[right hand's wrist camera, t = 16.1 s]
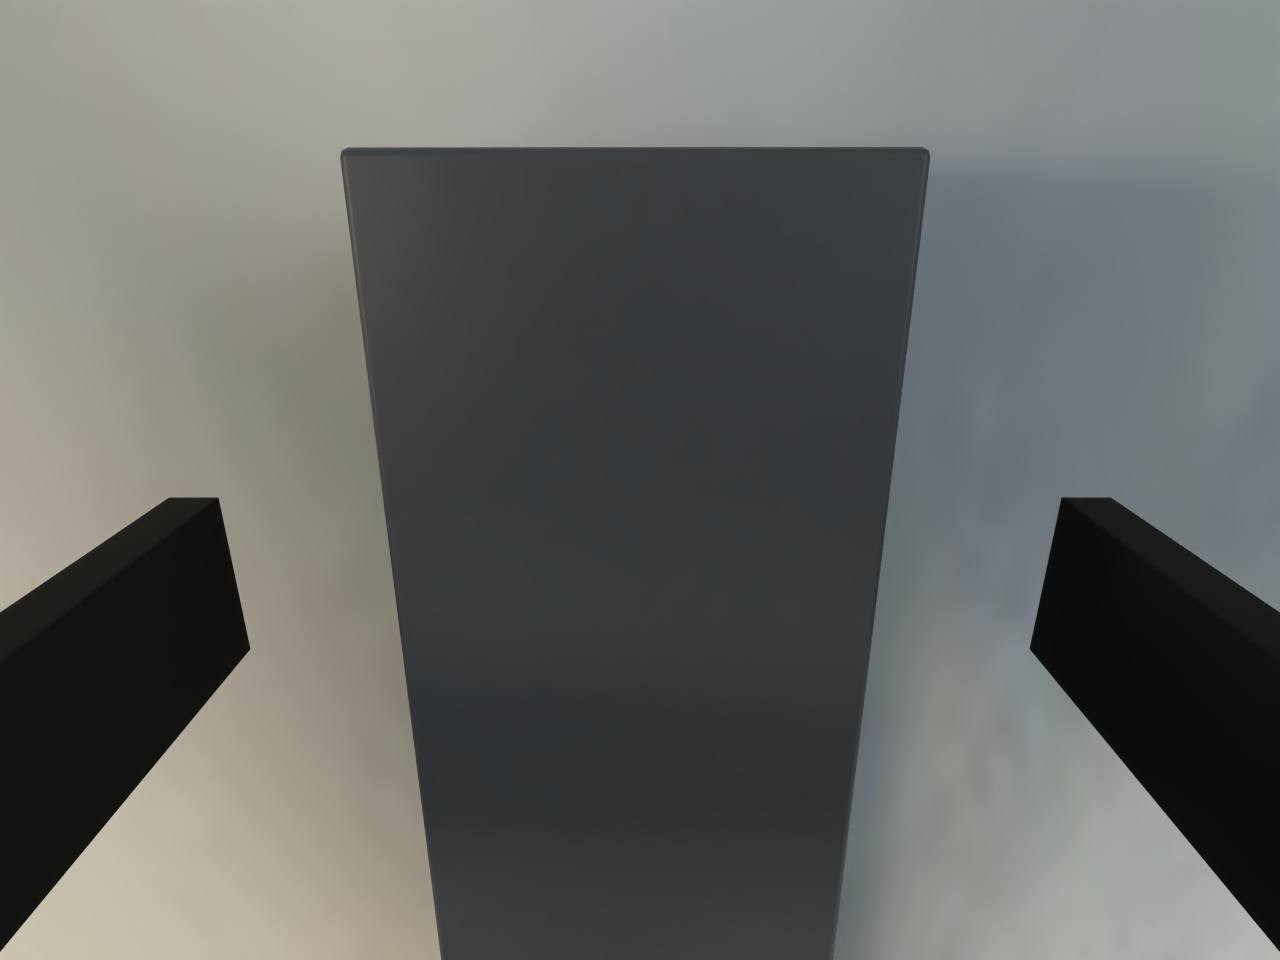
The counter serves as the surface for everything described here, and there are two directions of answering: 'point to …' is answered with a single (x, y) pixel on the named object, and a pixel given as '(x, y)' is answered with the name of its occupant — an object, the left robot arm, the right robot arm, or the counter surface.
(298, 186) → the counter surface
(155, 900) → the counter surface
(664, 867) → the beam
